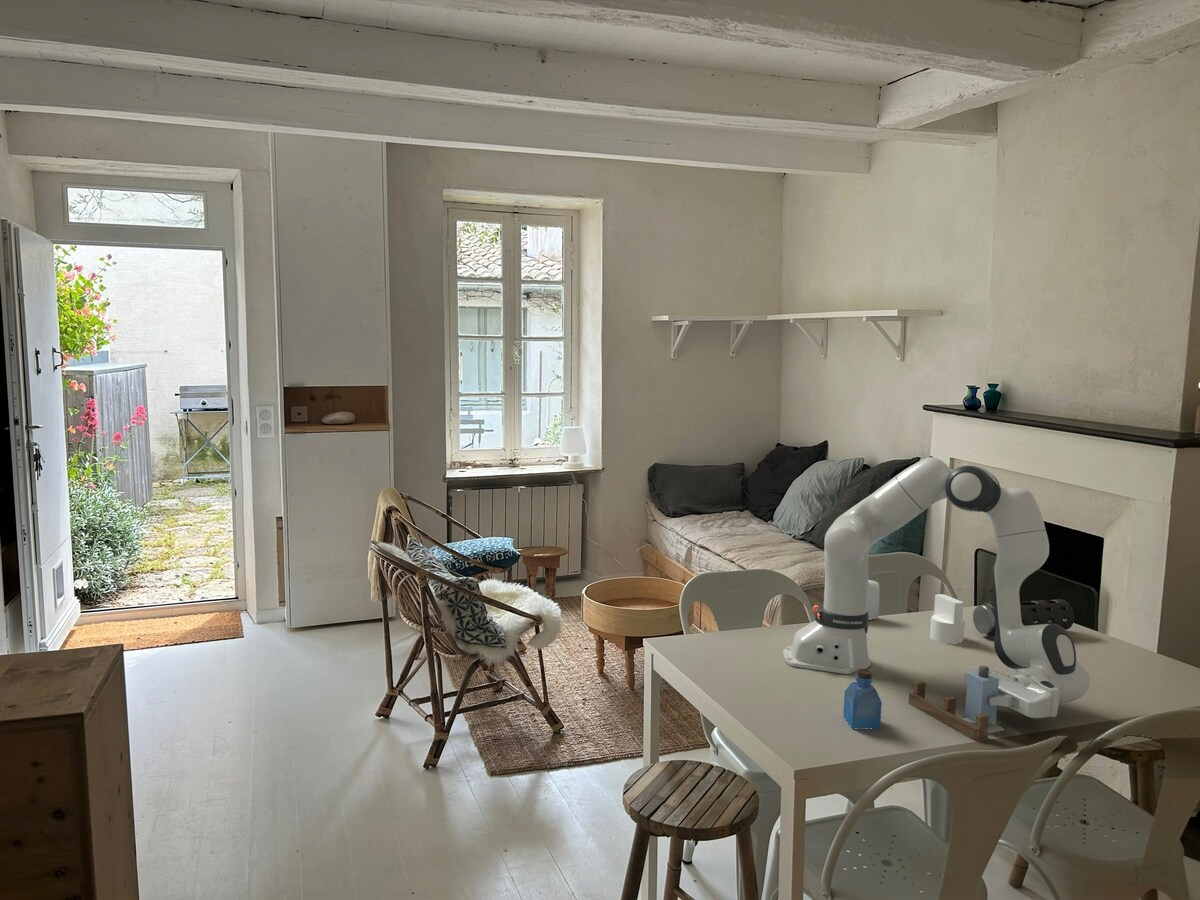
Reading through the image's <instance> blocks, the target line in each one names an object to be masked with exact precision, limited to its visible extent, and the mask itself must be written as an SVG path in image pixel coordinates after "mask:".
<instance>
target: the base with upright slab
mask: <svg viewBox="0 0 1200 900" xmlns="http://www.w3.org/2000/svg"><path fill="white" fill-rule="evenodd" d="M964 606H965V605H964V602H963V601H961V600H959V599H956V598H954V597H951V596H949V595H947V594H945V593H944V594H942V593H941V594H940V593H938V594H934V608H933V609H934V611H933V614H932V615H931V617H930V628H929V629H930V631H929V632H930V633H929V638H930V639H931V640H932V639H933V640H932V641H934V640H935V641H934V642H936V641H938V642H937V643H939V642H942V643H941V644H944V643H948V644H947V645H959V644H958V643H961V644H963V643H962V642H964V636H965V619H964V617H963V616H964Z"/></svg>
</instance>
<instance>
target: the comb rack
mask: <svg viewBox="0 0 1200 900" xmlns="http://www.w3.org/2000/svg"><path fill="white" fill-rule="evenodd" d="M926 688H927V682H926V681H923V680H921V681H914V682H913V692H909V693H908V704H909V705H910V706H912V705H913V707H914V708H916V709H918V710H919V711H921V712H923V713H925V714H927V716H928V715H929V716H930V717H931V718H934V719H936V720H937V721H939V722H941V723H942V724H945V725H946V726H948V727H950V728H952V729H953V730H955V731H956V732H958V733H960V734H961V735H964V736H966V737H967V738H969V739H971V740H972V741H979V740H984V739H988V738H989V737H988V735H989V734H993V733H997V732H1002V731H1005V728H1003V727H1001V726H999V725H998V724H996V723H995V722H994V723H989V715H987V714H979V715H976V721H975V722H974V721H972V720H970V719H968V718H966V717H964V718H962V717H960V716H958V715H956V706H957V698H956V697H954V696H947V697H943V700H942V701H943V702H942V704H943V705H942V706H939V705H937V704H936V703H933V702H932V701H931V700H928V699H926Z"/></svg>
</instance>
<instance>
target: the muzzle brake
mask: <svg viewBox="0 0 1200 900" xmlns="http://www.w3.org/2000/svg"><path fill="white" fill-rule="evenodd" d="M1020 610H1021V621H1022V623H1023V625H1024V626H1030V625H1040V624H1057V625H1060V626H1061V627H1063V628H1064V629H1065V630H1066V631H1067V630H1069V629H1071V628H1072V627H1073V624H1074V620H1075V613H1074V610H1073V607H1072V606H1071V604H1070V603H1069V602H1068V601H1067V600H1065V599H1062V598H1061V599H1060V598H1059V599H1041V600H1026V601H1024V600H1023V601H1020ZM972 613H973V614H972V619H973V620H972V621H973V625H974V627H975V629H976V631H978V632H979V633H980V634H982V635H987V636H991V637H992V636H993V637H995V612H994V601H990V602H984V603H982V604H980V605H977V606H976V607H975V608H974V610H973V612H972Z"/></svg>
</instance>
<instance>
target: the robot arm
mask: <svg viewBox="0 0 1200 900" xmlns="http://www.w3.org/2000/svg"><path fill="white" fill-rule="evenodd" d="M996 477H997V476H996ZM996 477H995V475H994V474H992V473H991V472H990V471H989V470H988V469H986V468H983V467H980V466H975V465H963V466H959V467H957V468H956V469H952V468H950V467H949V466H948V465H947V463H945V461H943V460H941V459H939V458H937V457H934V456H930V457H925V458H923V459H921V460H919V461H917V462H915V463H914V464H912V465H910V466H908V467H907V468H905V469H903V470H902V471H901V472H900V473H898V474H896V475H894V477H893V478H891V479H889V480H888V481H887V482H885V483H884V484H883V485H881V486H880V487H879V488H878V489H876V490H875V491H874V492H873V493H871V494H869V495H868V496H867V497H865V498H864V499H862V500H860V501H859V502H858V503H856V504H854V505H853V506H852V507H851V508H849V509H848V510H846V511H845V512H843V513H842V514H841V515H839V516H838V517H837V518H835V520H834V521H833V523H832V524H831V525H830V526H829V528H828V530H827V531H826V533H825V535H824V542H823V543H824V549H823V550H824V552H823V554H824V557H823V558H824V594H823V606H821V607H820V605H818V604H815V605H813V606H812V611H813V612H812V613H814V621H812V622H810V623H809V624H807V625H805V626H804V627H802V628H799V629H798V630H797V631H796V632H795V634H794V636H793V639H792V642H791V645H788V646H786V647H785V648H784V649H783V651H782V659H783V661H784V662H785V663H786V664H787V665H789V666H790V667H796V668H802V669H809V670H816V671H822V672H830V673H835V674H837V673H838V674H843V675H850V674H853V673H855V672H857V670H858V669H868V668H869V667H871V661H870V657H869V652H868V649H869V648H868V643H867V642H868V641H867V639H868V638H867V637H868V636H867V633H868V630H869V621H870V620H869V616H868V611H867V601H868V585H869V581H868V580H869V558H870V557H869V553H870V549H871V547H872V546H873V545H874V544H876V543H878V542H880V541H881V540H882V539H884V538H885V537H887V536H889V535H890V534H892V533H894V532H895V531H898V530H899V529H901V528H902V527H904V526H905V525H906V524H908V523H909V522H911V520H914V519H915V518H916V517H918V516H919V515H920V514H922V513H924V511H926V510H927V509H928V508H930V507H931V506H932V505H934V504H935V503H938V502H939V501H941V500H944V499H948V501H949V502H950V503H951V504H952V505H953V506H955V507H956V508H958V509H960V510H963V511H965V512H969V513H978V512H979V513H985V514H986V515H987V516H988V517H989V518H990V520H991V523H992V527H993V530H994V531H993V532H994V537H995V540H996V559H995V563H994V564H993V566H992V571H991V586H992V596H993V597H992V598H993V599H992V600H993V602H994V612H995V636H994V639H993V645H994V647H993V648H994V651H995V654H996V656H997V657H998V659H999V660H1000V661H1001V663H1002V664H1004V665H1005V666H1006V667H1007V668H1010V669H1013V670H1011V671H1010V672H1009V673H1008V675H1005V674H1003V673H1001V672H999V671H997V670H994V669H990V668H989V674H991V675H993V676H995V677H997V678H999V687H998V696H994V695H990V696H987V701H986V702H987V703H988V704H989V705H991V706H995V705H997V707H998V706H999V707H1006V708H1009V709H1011V710H1014V711H1015V712H1017V713H1020V714H1021V715H1023V716H1025V717H1028V718H1031V719H1043V718H1054V717H1057V715H1058V711H1059V705H1061V704H1067V703H1070V702H1074V701H1077V700H1079V699H1081V698H1082V697H1084V696H1085V695H1086V693H1088V691H1089V689H1090V684H1091V680H1090V679H1091V678H1090V676H1089V673H1088V670H1087V669H1086V668H1085V667H1084V666H1083V665H1082V664H1081V663H1080V662H1079V660H1078V659H1077V653H1076V652H1077V651H1076V648H1075V647H1076V646H1075V644H1074V640H1073V637H1072V636H1071V635H1070V633H1069V632H1068V631H1067V630H1065V629H1064V628H1063V627H1061V626H1060V625H1057V624H1040V625H1030V626H1024V625H1023V623H1022V621H1021V610H1020V602H1021V600H1020V599H1021V598H1020V589H1021V586H1022V584H1023V582H1024V581H1025V580H1026V579H1027V578H1028V577H1029V576H1030V575H1032V574H1034V573H1035V572H1036V571H1038V570H1039V569H1040V568H1041V567H1043V565H1044V564H1045V563H1046V561H1047V559H1048V557H1049V555H1050V542H1049V537H1048V533H1047V530H1046V526H1045V522H1044V518H1043V516H1042V512H1041V511H1040V508H1039V505H1038V502H1037V501H1036V498H1035V496H1034V494H1033V493H1032V492H1031V491H1030V490H1028V489H1025V488H1023V487H1007V488H1006V487H1001V485H1000V481H999V480H998V479H997V478H996ZM975 672H979V668H972V669H967V670H965V671H964V674H963V684H964V686H965V687H967V677H968V673H975ZM966 691H967V689H966Z"/></svg>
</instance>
